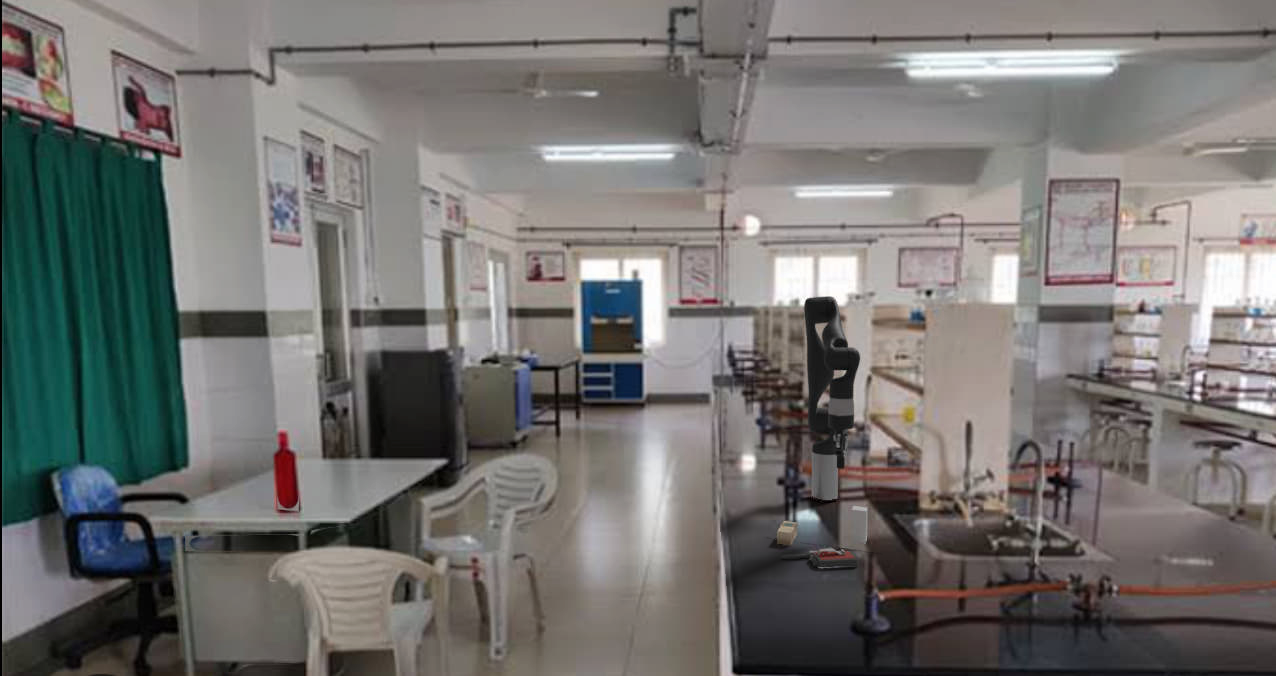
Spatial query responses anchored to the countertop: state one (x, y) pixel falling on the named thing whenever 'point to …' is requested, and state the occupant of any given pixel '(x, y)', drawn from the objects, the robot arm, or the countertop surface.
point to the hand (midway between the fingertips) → (840, 468)
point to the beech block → (787, 533)
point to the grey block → (859, 524)
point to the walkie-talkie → (829, 557)
